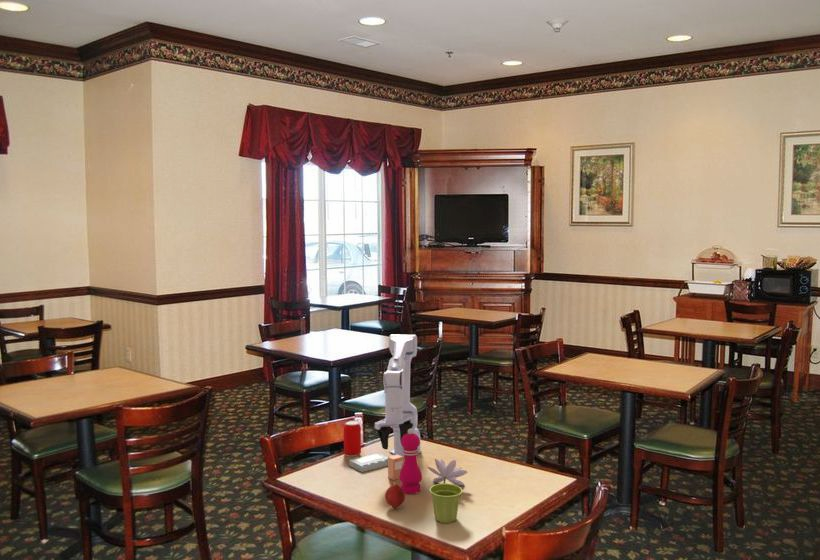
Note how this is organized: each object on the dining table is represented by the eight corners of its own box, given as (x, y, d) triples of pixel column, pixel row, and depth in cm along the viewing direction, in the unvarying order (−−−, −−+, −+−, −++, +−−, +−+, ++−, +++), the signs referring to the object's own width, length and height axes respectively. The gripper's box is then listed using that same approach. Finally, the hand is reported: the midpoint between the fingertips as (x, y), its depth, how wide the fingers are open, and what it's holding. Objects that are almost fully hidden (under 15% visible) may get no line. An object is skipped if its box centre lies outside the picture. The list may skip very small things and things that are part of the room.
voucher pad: (377, 458, 250) (377, 452, 250) (390, 464, 244) (390, 458, 243) (349, 465, 243) (349, 459, 242) (362, 472, 236) (362, 466, 236)
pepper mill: (422, 486, 223) (422, 425, 222) (421, 495, 216) (420, 432, 214) (400, 485, 224) (400, 425, 222) (398, 494, 217) (397, 431, 215)
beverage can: (341, 453, 256) (341, 421, 255) (357, 451, 258) (357, 419, 257) (347, 458, 250) (346, 426, 249) (363, 456, 253) (363, 423, 252)
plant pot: (460, 511, 204) (460, 483, 203) (464, 525, 194) (464, 495, 194) (428, 512, 203) (428, 483, 203) (430, 526, 194) (430, 496, 193)
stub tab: (397, 474, 234) (397, 454, 233) (403, 477, 231) (403, 456, 231) (388, 477, 231) (387, 456, 231) (393, 480, 229) (393, 459, 228)
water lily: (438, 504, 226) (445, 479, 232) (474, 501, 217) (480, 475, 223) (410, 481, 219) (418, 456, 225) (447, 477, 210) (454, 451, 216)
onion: (394, 502, 210) (394, 477, 210) (408, 507, 207) (408, 481, 206) (381, 508, 206) (381, 482, 205) (396, 514, 202) (395, 487, 202)
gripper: (383, 412, 223) (383, 453, 224) (418, 405, 232) (418, 444, 233) (370, 408, 228) (371, 448, 229) (405, 400, 237) (406, 439, 238)
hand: (394, 446), depth 231 cm, fingers open, 7 cm apart
